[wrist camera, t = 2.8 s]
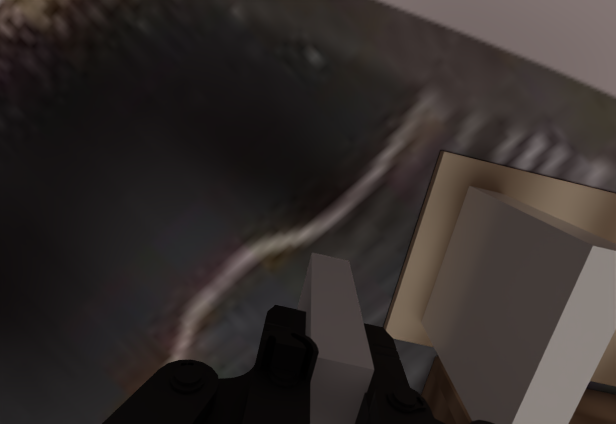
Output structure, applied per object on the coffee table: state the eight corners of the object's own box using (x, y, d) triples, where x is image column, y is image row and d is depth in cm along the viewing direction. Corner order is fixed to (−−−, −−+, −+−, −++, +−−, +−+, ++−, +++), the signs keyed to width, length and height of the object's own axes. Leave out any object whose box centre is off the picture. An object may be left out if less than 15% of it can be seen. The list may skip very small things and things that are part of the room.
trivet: (382, 331, 25) (383, 336, 25) (440, 150, 22) (444, 151, 22) (665, 392, 26) (673, 398, 26) (758, 228, 23) (769, 231, 23)
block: (421, 322, 24) (494, 463, 15) (469, 185, 22) (593, 245, 12) (453, 329, 24) (547, 474, 15) (504, 194, 22) (654, 260, 13)
